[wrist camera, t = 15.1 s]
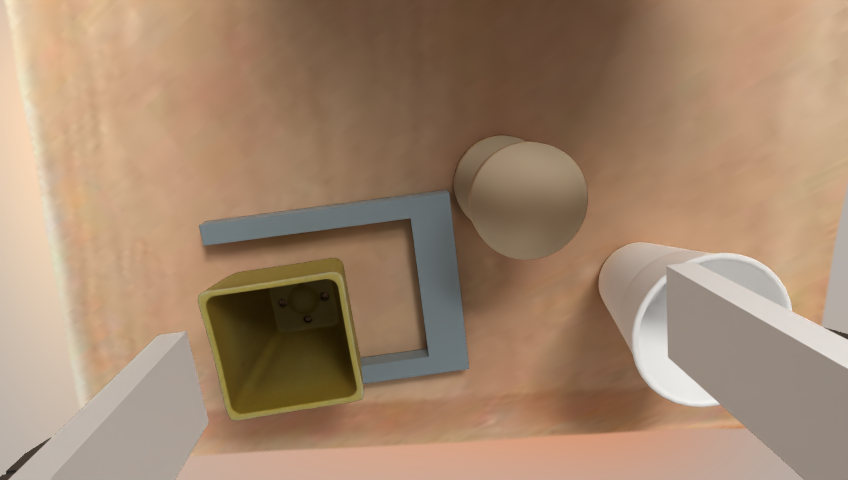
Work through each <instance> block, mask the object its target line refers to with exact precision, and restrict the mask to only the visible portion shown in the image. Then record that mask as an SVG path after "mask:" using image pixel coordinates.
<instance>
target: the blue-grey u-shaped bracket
mask: <svg viewBox="0 0 848 480" xmlns="http://www.w3.org/2000/svg"><path fill="white" fill-rule="evenodd" d="M410 218H411V226H412V233H413V241H414V248H415V256H416V264H417V271H418V279H419V286H420V294H421V301H422V309H423V317H424V324H425V332H426V339H427V347H428V349H421V350H414V351H406V352H399V353H392V354H385V355H378V356H371V357H363V358H360V360H361V369H362V377H363V384H366V383H373V382H380V381H387V380H395V379H402V378H409V377H416V376H423V375H430V374H437V373H444V372H451V371H459V370H466V369H469V362H468V353H467V344H466V336H465V327H464V318H463V309H462V300H461V291H460V283H459V274H458V265H457V256H456V247H455V238H454V230H453V221H452V212H451V203H450V194H449V191H448V190H441V191H433V192H426V193H418V194H411V195H403V196H395V197H388V198H380V199H373V200H365V201H357V202H350V203H342V204H334V205H327V206H319V207H312V208H304V209H296V210H289V211H281V212H274V213H266V214H258V215H251V216H243V217H236V218H228V219H220V220H213V221H206V222H204V223H203V224H201V225H199V227H200V232H201V236H202V241H203V245H204V246H206V245H214V244H221V243H229V242H236V241H244V240H251V239H259V238H266V237H274V236H282V235H289V234H297V233H304V232H312V231H319V230H327V229H334V228H342V227H349V226H357V225H364V224H372V223H380V222H387V221H395V220H402V219H410Z"/></svg>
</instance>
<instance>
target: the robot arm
mask: <svg viewBox="0 0 848 480" xmlns="http://www.w3.org/2000/svg"><path fill="white" fill-rule="evenodd" d="M666 283H667V337H668V358H669V359H670V360H671V361H673V362H674V363H675V364H676V365H677V366H678V367H679V368H680V369H682V370H683V371H684V372H685V373H686V374H687V375H688V376H689V377H690V378H692V379H693V380H694V381H695V382H696V383H697V384H698V385H699V386H700V387H702V388H703V389H704V390H705V391H706V392H707V393H708V394H709V395H711V396H712V397H713V398H714V399H715V400H716V401H717V402H718V403H719V404H721V405H722V406H723V407H724V408H725V409H726V410H727V411H728V412H729V413H731V414H732V415H733V416H734V417H735V418H736V419H737V420H738V421H739V422H741V423H742V424H743V425H744V426H745V427H746V428H747V429H748V430H750V431H751V432H752V433H753V434H754V435H755V436H756V437H757V438H759V439H760V440H761V441H762V442H763V443H764V444H765V445H766V446H767V447H768V448H770V449H771V450H772V451H773V452H774V453H775V454H776V455H777V456H779V457H780V458H781V459H782V460H783V461H784V462H785V463H786V464H787V465H789V466H790V467H791V468H792V469H793V470H794V471H795V472H796V473H797V474H799V475H800V476H801V477H802V478H803V479H804V480H848V334H845V333H841V332H838V331H835V330H831V329H828V328H824V327H822V326H820V325H818V324H816V323H814V322H812V321H810V320H808V319H806V318H804V317H802V316H800V315H798V314H796V313H794V312H792V311H790V310H788V309H786V308H784V307H782V306H780V305H778V304H776V303H774V302H772V301H770V300H768V299H766V298H764V297H762V296H760V295H758V294H756V293H754V292H752V291H750V290H748V289H746V288H744V287H742V286H740V285H738V284H736V283H734V282H732V281H730V280H729V279H727V278H725V277H723V276H721V275H719V274H717V273H715V272H713V271H711V270H709V269H707V268H705V267H703V266H701V265H699V264H697V263H695V262H688V263H681V264H674V265H666ZM208 423H209V421H208V417H207V412H206V408H205V404H204V400H203V396H202V392H201V388H200V384H199V380H198V376H197V371H196V367H195V363H194V359H193V355H192V351H191V347H190V343H189V339H188V334H187V331H184V332H176V333H169V334H162V335H157V336H156V337H155V338H154V339H153V340H152V341H151V342H150V343H149V344H148V345H147V346H146V347H145V348H144V349H143V350H142V351H141V352H140V353H139V354H138V355H137V356H136V357H135V358H134V359H133V360H132V361H131V362H130V363H128V364H127V365H126V366H125V367H124V368H123V369H122V370H121V371H120V372H119V373H118V374H117V375H116V376H115V377H114V378H113V379H112V380H111V381H110V382H109V383H108V384H107V385H106V386H105V387H104V388H103V389H102V390H101V391H100V392H98V393H97V394H96V395H95V396H94V397H93V398H92V399H91V400H90V401H89V402H88V403H87V404H86V405H85V406H84V407H83V408H82V409H81V410H80V411H79V412H78V413H77V414H76V415H75V416H74V417H73V418H72V419H71V420H70V421H69V422H68V423H66V424H65V425H64V426H63V427H62V428H61V429H60V430H59V431H58V432H57V433H56V434H55V435H54V436H53V437H51V438H49V439H48V440H46V441H44V442H43V443H41V444H40V445H38V446H37V447H35V448H33V449H32V450H30V451H29V452H27V453H25V454H24V455H23V456H22V457H21V458H20V459H19V460H18V461H17V462H16V463H15V464H14V465H12V466H11V467H10V468H9V469H8V470H7V471H6V474H5V475H2V476H1V477H0V480H175V479H176V477H177V476H178V474H179V472H180V471H181V469H182V467H183V465H184V464H185V462H186V460H187V459H188V457H189V455H190V454H191V452H192V450H193V448H194V447H195V445H196V443H197V442H198V440H199V438H200V436H201V435H202V433H203V431H204V430H205V428H206V426H207V424H208Z"/></svg>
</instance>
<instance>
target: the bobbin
mask: <svg viewBox="0 0 848 480" xmlns="http://www.w3.org/2000/svg"><path fill="white" fill-rule="evenodd" d="M454 192H455V197H456V200H457V202H458V204H459V206H460V208H461V209H462V211H463V212H464V214H465V215H466V216H467V217H468V218H469V219H470V220H471V221H472V223H473V225H474V227H475V229H476V231H477V232H478V234H479V235H480V236H481V238H482V239H483V240H484V241H485V243H486V244H487V245H489V246H490V247H491V248H492V249H493V250H495V251H496V252H498V253H500V254H502V255H504V256H507V257H510V258H514V259H520V260H531V259H538V258H542V257H545V256H548V255H550V254H553V253H555V252H556V251H558V250H560V249H561V248H563V247H564V246H565V245H566V244H567V243H568V242H569V241H570V240H571V239H572V238H573V237H574V236H575V234H576V233H577V232H578V230H579V228H580V227H581V225H582V223H583V220H584V218H585V214H586V211H587V204H588V192H587V186H586V182H585V179H584V176H583V174H582V172H581V170H580V168H579V167H578V165H577V164H576V163H575V162H574V160H573V159H572V158H571V157H570V156H569V155H567V154H566V153H564V152H563V151H562V150H560V149H558V148H556V147H553V146H551V145H548V144H543V143H538V142H529V141H527V142H526V141H524V140H522V139H520V138H517V137H512V136H506V135H498V136H491V137H488V138H485V139H482V140H480V141H478V142H477V143H475V144H474V145H472V146H471V147H470V148H469V149H468V150H467V151H466V152H465V153H464V155H463V156H462V158H461V159H460V161H459V163H458V165H457V168H456V170H455V175H454Z"/></svg>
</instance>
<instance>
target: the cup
mask: <svg viewBox="0 0 848 480" xmlns="http://www.w3.org/2000/svg"><path fill="white" fill-rule="evenodd" d="M688 262H695V263H697V264H699V265H701V266H703V267H705V268H707V269H709V270H711V271H713V272H715V273H717V274H719V275H721V276H723V277H725V278H727V279H729V280H730V281H732V282H734V283H736V284H738V285H740V286H742V287H744V288H746V289H748V290H750V291H752V292H754V293H756V294H758V295H760V296H762V297H764V298H766V299H768V300H770V301H772V302H774V303H776V304H778V305H780V306H782V307H784V308H786V309H788V310H790V311H792V307H791V301H790V299H789V296H788V293H787V291H786V288H785V287H784V285H783V284H782V282H781V281H780V279H779V278H778V276H777V275H776V274H775V273H773V272H772V271H771V270H770V269H769V268H768V267H767V266H766V265H764V264H762V263H760V262H758V261H757V260H755V259H753V258H750V257H747V256H743V255H740V254H733V253H714V254H713V253H707V252H701V251H694V250H688V249H683V248H676V247H671V246H665V245H659V244H653V243H647V242H636V243H631V244H628V245H625V246H623V247H621V248H619V249H617V250H616V251H615V252H614V253H612V254H611V255H610V256H609V258H608V259H607V260H606V261H605V263H604V265H603V266H602V269H601V272H600V275H599V281H598V282H599V292H600V296H601V298H602V300H603V302H604V304H605V305H606V307H607V309H608V311H609V312H610V314H611V316H612V318H613V319H614V321H615V323H616V325H617V327H618V328H619V330H620V332H621V334H622V336H623V338H624V339H625V341H626V343H627V345H628V347H629V349H630V350H631V352H632V354H633V358H634V363H635V365H636V367H637V369H638V371H639V373H640V376H641V377H642V378H643V380H644V381H645V382H646V383H647V385H648V386H649V387H650V388H651V389H653V390H654V391H655V392H656V393H658V394H659V395H660V396H662V397H664V398H666V399H668V400H670V401H672V402H674V403H678V404H682V405H686V406H693V407H709V406H717V405H721V404H719V403H718V402H717V401H716V400H715V399H714V398H713V397H712V396H711V395H709V394H708V393H707V392H706V391H705V390H704V389H703V388H702V387H700V386H699V385H698V384H697V383H696V382H695V381H694V380H693V379H692V378H690V377H689V376H688V375H687V374H686V373H685V372H684V371H683V370H682V369H680V368H679V367H678V366H677V365H676V364H675V363H674V362H673V361H671V360H670V359H669V358H668V337H667V283H666V265H674V264H681V263H688Z"/></svg>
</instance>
